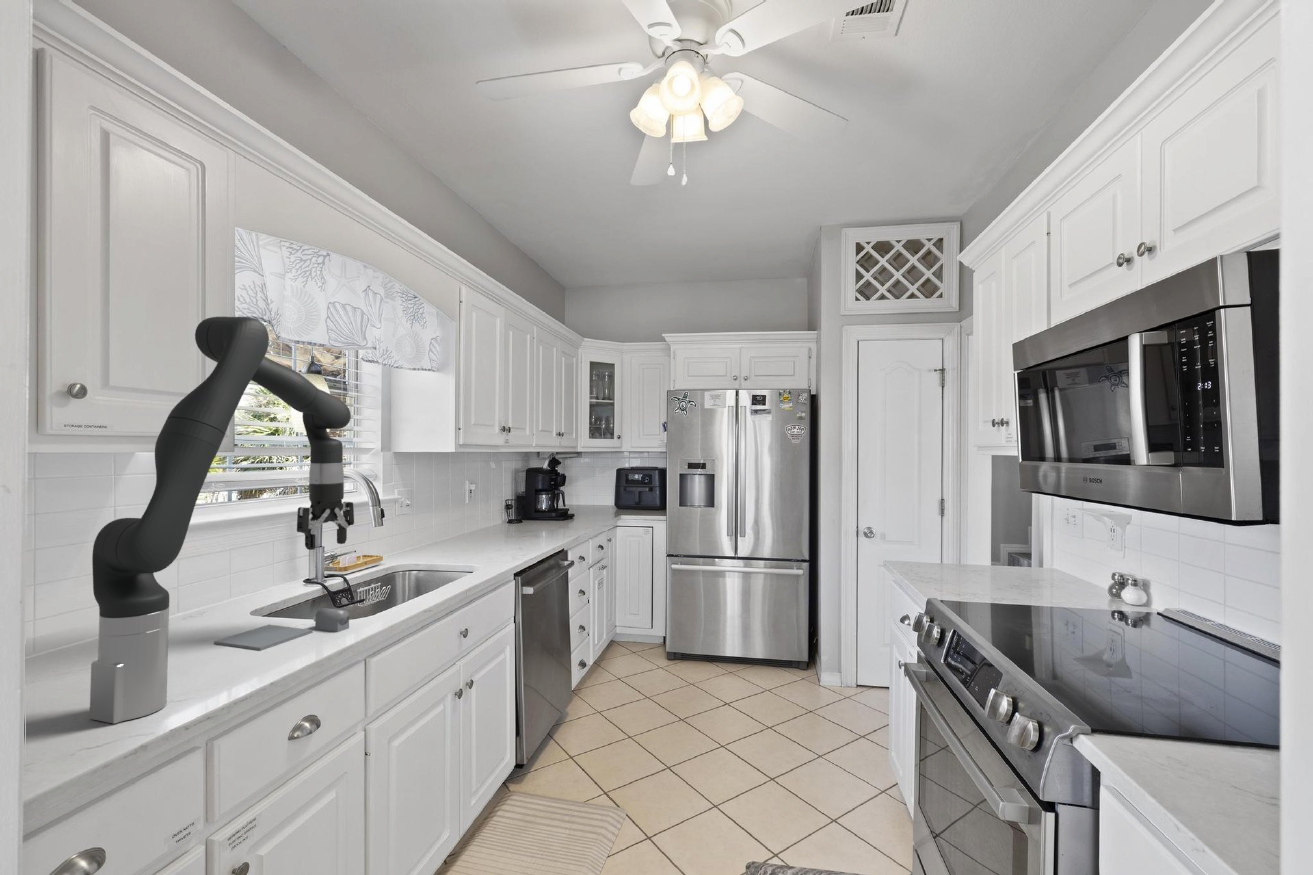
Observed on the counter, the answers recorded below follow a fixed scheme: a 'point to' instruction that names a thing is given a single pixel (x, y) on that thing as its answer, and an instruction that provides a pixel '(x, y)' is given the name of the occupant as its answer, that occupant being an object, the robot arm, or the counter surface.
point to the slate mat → (263, 637)
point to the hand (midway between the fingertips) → (326, 546)
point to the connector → (331, 620)
